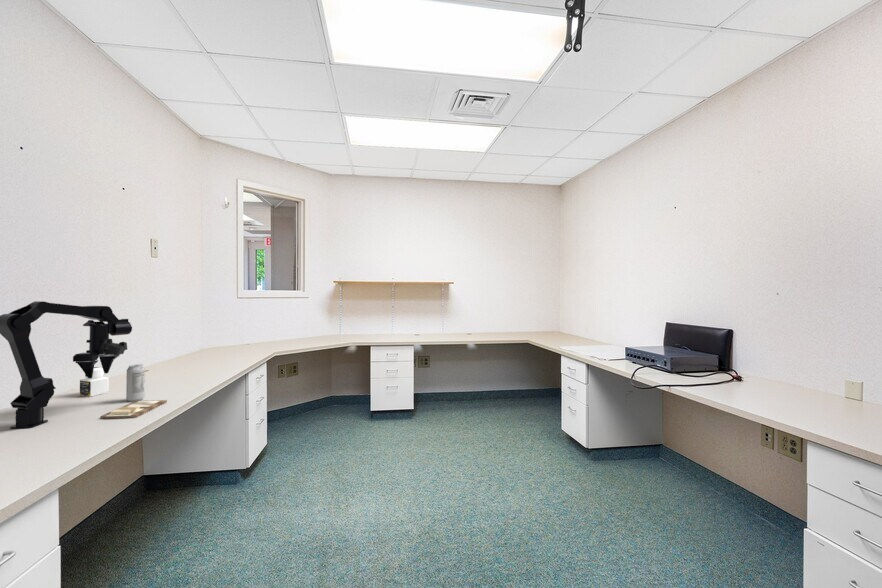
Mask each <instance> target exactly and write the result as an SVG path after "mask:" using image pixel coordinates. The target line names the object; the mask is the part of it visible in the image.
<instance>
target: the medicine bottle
mask: <svg viewBox="0 0 882 588" xmlns="http://www.w3.org/2000/svg"><path fill="white" fill-rule="evenodd" d="M104 375H105V373H104V371H103V368H102V366H96V367H95V366H94V370H93V376H92V378H88V377H87V376H86V374H85V373H84V376H85V377H84V378H83V379H80V380H79V396H80V395H82V396H83V397H88V396H89V397H88V398H91V396H92V397H96V395H97V396H101V395H104V394H105V393H106V394H108V393H109V392H110V391H109V389H110V387H109V386H110V385H109V384H110V383H109V381H110V379H109V377H108V376H107V377H106V376H104ZM100 394H101V395H100ZM82 396H81V397H82Z"/></svg>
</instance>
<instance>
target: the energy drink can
mask: <svg viewBox="0 0 882 588" xmlns="http://www.w3.org/2000/svg"><path fill="white" fill-rule="evenodd" d="M145 369H146V368H145V367H144V364H141V363H139V364H130V365H128V368H126V377H125V378H126V385H125V387H126V389H125V390H126V391H125V392H126V393H125V395H126V397H125V400H126V401H129V403H132V402H134V401H144V398H145V394H146V393H145V385H146V384H145V383H146V382H145V381H146V375H145V374H146V370H145Z"/></svg>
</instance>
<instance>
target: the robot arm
mask: <svg viewBox="0 0 882 588" xmlns="http://www.w3.org/2000/svg"><path fill="white" fill-rule="evenodd" d="M46 313H47V314H55V315H56V314H57V315H70V316H76V317H77V316H78V317H82V318H84V319H88V320H87V321H86V322H85V323H83V324H82V326H83V327H89V339H86V342H85V343H88V344H89V347H88V350H86V351H85V352H80V353H76V354H74V355H73V356H72V362H75V364H77V365H78V366H79V367H80V368H81V370H82V372H83V373H84V375H85V374H86V376H87V377H88V378H92V376H93V370H94V367H95V365H96V364H97V363H98V362H99V361H100V363H101V368H103V371H104V374H109V372H110V370H111V367H112V365H113V362H114V360H116V359H117V358H118V357H120V356H121V355H123V354H124V353H125V351H127V350H128V344H127V342H125V341H121V342H119V343H118V342H117V343H115V342H113V339H112V338H110V336H112V337H114V336H123V335H124V336H125V335H130V334H131V333H132V331H133V326H132V324H131V322H130V321H129V318H121V319H119V318H118V317H117V316H116V314H114V313H113V309H112V308H111V306H108V305H83V306H82V305H74V304H73V305H71V304H64V303H63V304H61V303H55V302H48V301H41V300H38V301H37V300H36V301H33V302H31V303H29V304H27V305H25V306H22V307H20V308H17V309H15V310H13V311H11V312H8V313H4V314H1V315H0V335H1V336H2V337H3V338H4V339H5V340H6V341H7V342H8V344H9V347H10V351H11V352H12V355H13V359H14V362H15V365H16V366H17V370H18V372H19V374H20V378H21V382H20V386H19V394H18V395H17V396H16V397H15V398H14V399H13V400H12V401H11V402H10V405H11V407H12V409H15V425H12V426H10V429H30V428H34V427H36V426H39V425H42V424H45V423H47V422H49V420H48V419H45V417H44V416H45V412H44V411H45V409H44V408H46V407H47V406H48V403H50V402H49V401H50V399H52V397H53V396H54V395H55V390H56V386H55V385H54V380H53V378H50V377H44V375H42V372H41V370H40V366H39V363H38V360H37V357H36V355H35V352H34V348H33V346H32V343H31V340H30V335H31V332H32V327H31V326H32V324H33V323H34V322H36V321H37V320H39V319H40V317H42V316H43V315H45V314H46Z"/></svg>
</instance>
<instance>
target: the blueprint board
mask: <svg viewBox="0 0 882 588" xmlns="http://www.w3.org/2000/svg"><path fill="white" fill-rule="evenodd" d="M166 402H167V403H168V400H167V399H160V400H159V399H156V400H155V399H153V400H151V399H150V400H140V401H134V402H129V403H127V404H125V405H123V406H121V407H117V408H116V409H113V410H112V411H109V412H107V413H105V414H102V415H100V417H99V418H100V420H104V419H103V418H112V419H121V418H120V417H137V418H139V417H141V416H142V414H143V415H145V414H146V412H147V413H149V412H151V411H153V410H155V409H157V408H158V406H159V407H160V405H161V406H162V404H163V405H165V404H166ZM164 403H165V404H164ZM156 407H157V408H156ZM154 408H155V409H154ZM152 409H153V410H152ZM150 410H151V411H150ZM148 411H149V412H148ZM144 413H145V414H144ZM140 415H141V416H140ZM138 416H139V417H138Z"/></svg>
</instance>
